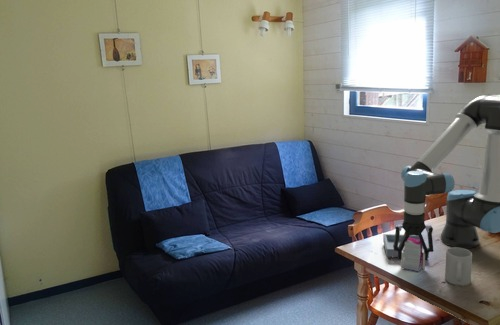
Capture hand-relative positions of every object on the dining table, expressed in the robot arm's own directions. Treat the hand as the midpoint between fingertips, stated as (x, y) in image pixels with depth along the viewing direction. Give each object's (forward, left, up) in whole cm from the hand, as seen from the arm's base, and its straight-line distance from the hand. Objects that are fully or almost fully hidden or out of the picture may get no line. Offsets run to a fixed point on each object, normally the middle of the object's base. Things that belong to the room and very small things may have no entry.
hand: (412, 267), depth 165 cm
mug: (-14, +10, 0) cm, 17 cm away
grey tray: (+1, -14, 0) cm, 14 cm away
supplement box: (0, 0, 0) cm, 1 cm away
